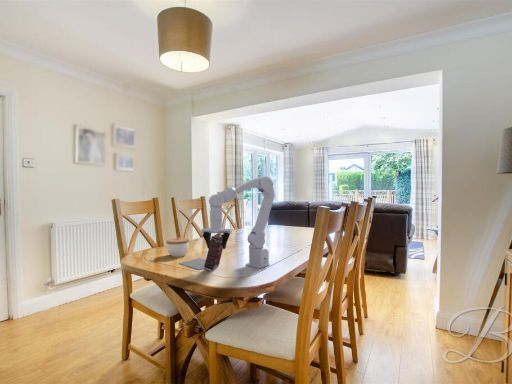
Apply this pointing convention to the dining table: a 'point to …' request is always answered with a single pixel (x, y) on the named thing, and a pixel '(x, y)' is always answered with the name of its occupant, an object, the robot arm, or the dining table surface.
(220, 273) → the dining table surface
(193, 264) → the felt mat
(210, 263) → the supplement box
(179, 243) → the lidded bowl
